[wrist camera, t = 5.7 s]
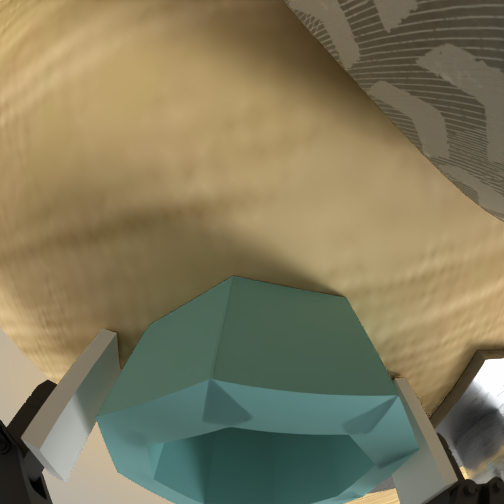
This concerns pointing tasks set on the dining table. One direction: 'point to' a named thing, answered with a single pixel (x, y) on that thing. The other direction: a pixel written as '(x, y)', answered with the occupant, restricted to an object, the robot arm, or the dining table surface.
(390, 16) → the planter
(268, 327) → the ring
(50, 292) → the dining table surface
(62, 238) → the dining table surface
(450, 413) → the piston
